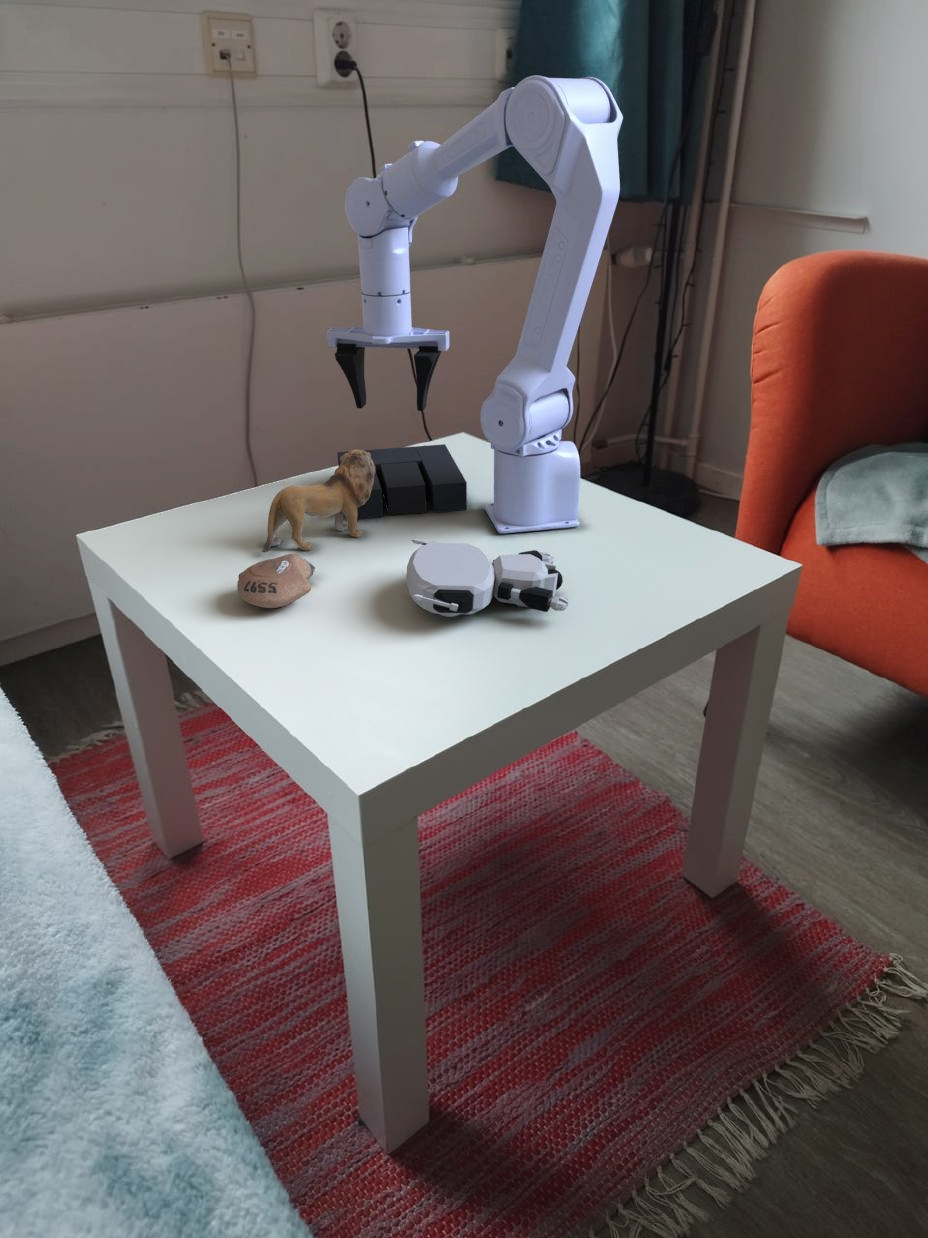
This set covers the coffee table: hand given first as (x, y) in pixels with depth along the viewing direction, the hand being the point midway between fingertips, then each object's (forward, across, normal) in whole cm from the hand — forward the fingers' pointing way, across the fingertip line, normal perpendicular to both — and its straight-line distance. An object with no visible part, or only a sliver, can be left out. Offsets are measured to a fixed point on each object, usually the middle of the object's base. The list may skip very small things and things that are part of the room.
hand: (391, 407), depth 112 cm
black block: (+9, +3, -7) cm, 12 cm away
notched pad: (+9, +2, -5) cm, 11 cm away
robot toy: (+10, +16, -31) cm, 36 cm away
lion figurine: (+10, -4, -19) cm, 21 cm away
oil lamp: (+10, -4, -33) cm, 34 cm away
